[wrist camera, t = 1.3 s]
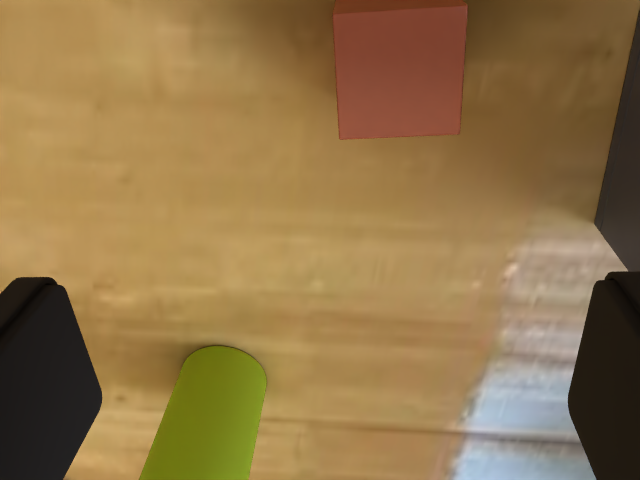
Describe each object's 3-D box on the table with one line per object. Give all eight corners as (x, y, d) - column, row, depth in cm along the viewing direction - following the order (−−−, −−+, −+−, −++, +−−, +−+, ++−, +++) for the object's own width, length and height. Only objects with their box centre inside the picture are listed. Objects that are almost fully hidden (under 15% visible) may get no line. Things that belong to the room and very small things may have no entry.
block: (336, -6, 25) (332, 13, 21) (449, -13, 25) (468, 4, 20) (342, 103, 28) (339, 140, 23) (444, 98, 27) (460, 134, 23)
